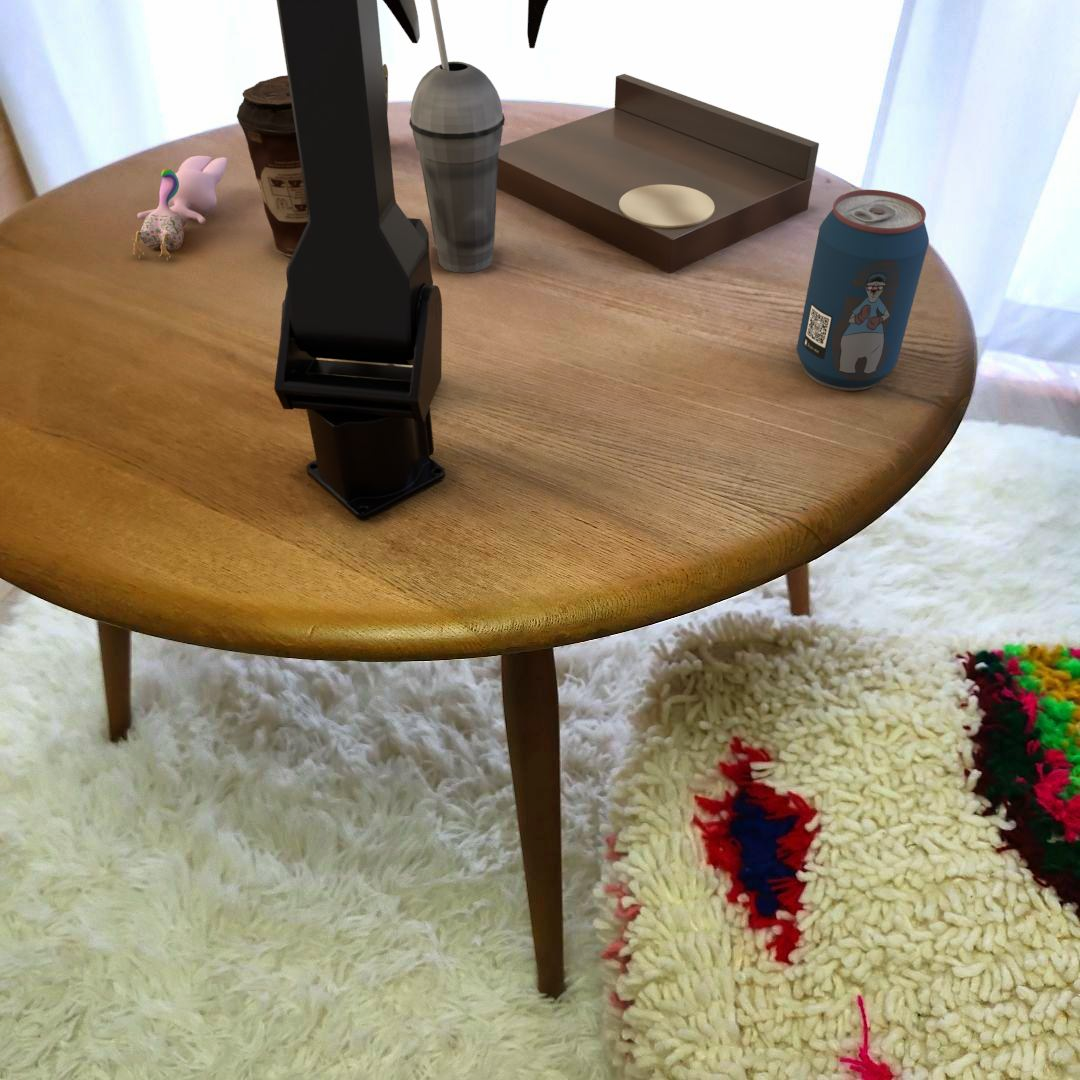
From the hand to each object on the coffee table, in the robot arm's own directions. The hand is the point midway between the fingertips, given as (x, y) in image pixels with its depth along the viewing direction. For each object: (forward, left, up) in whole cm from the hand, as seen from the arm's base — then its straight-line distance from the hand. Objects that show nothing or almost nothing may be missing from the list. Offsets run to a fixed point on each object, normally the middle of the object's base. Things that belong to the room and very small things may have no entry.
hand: (474, 42), depth 79 cm
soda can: (+6, -34, -16) cm, 38 cm away
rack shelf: (+16, -4, -15) cm, 22 cm away
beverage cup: (-4, -3, -16) cm, 17 cm away
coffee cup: (-12, +8, -16) cm, 21 cm away
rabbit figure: (-18, +19, -16) cm, 31 cm away
